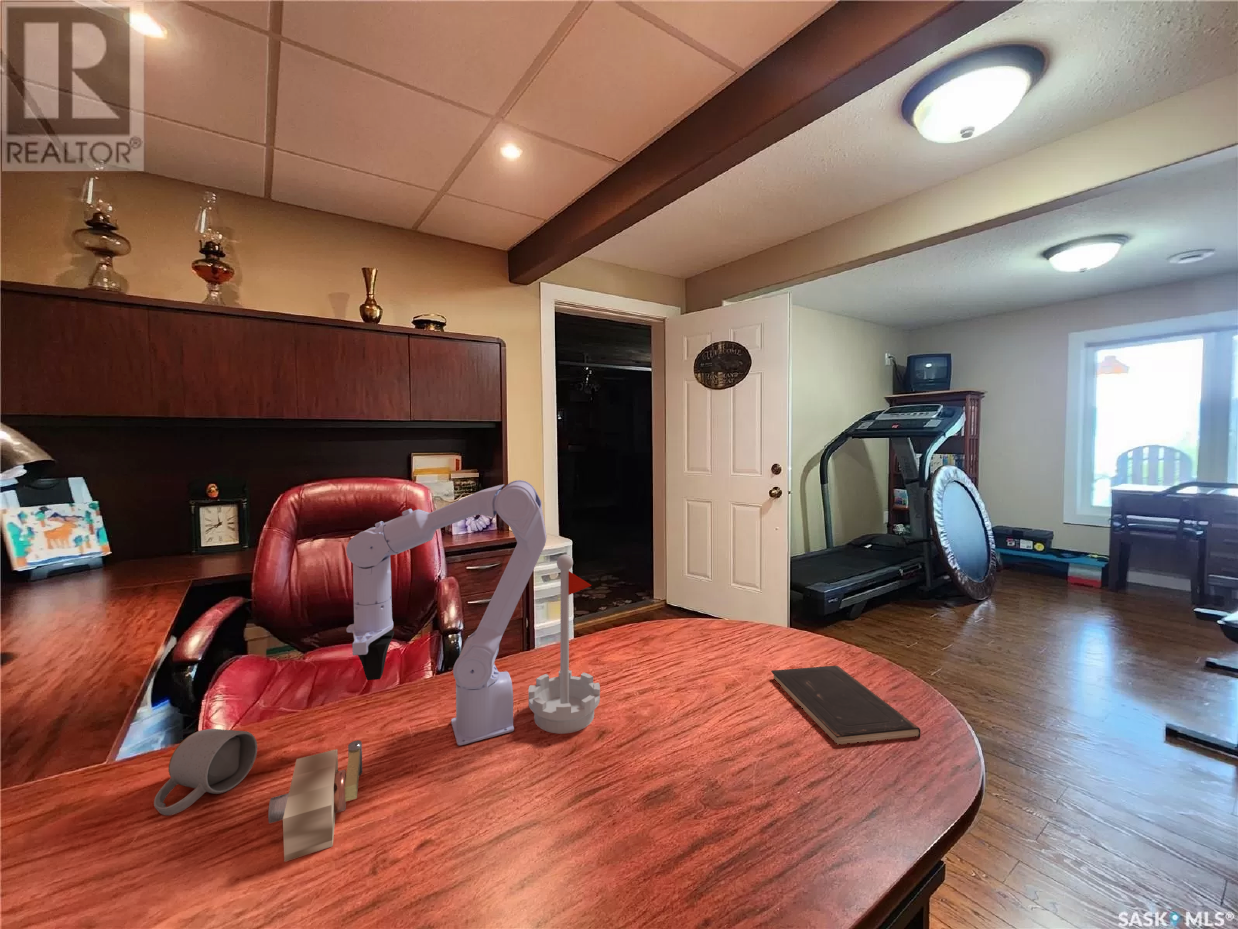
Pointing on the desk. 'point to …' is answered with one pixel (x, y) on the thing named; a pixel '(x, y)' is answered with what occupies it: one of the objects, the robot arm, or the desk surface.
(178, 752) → the ceramic mug
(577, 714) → the flag stand
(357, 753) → the bar
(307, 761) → the hitch block
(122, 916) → the desk surface
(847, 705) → the hardcover book
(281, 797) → the pin
